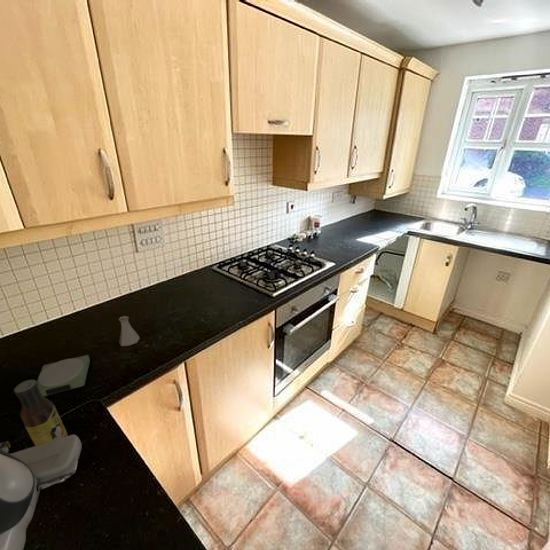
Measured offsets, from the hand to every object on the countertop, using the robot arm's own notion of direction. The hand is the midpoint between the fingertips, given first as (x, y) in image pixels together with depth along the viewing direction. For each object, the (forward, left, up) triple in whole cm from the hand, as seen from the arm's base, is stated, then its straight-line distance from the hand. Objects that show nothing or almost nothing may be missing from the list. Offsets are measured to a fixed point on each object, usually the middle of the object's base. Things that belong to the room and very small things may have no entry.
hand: (31, 436), depth 66 cm
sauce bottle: (0, +6, -11) cm, 12 cm away
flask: (+16, +46, -11) cm, 50 cm away
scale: (-3, +33, -11) cm, 35 cm away
